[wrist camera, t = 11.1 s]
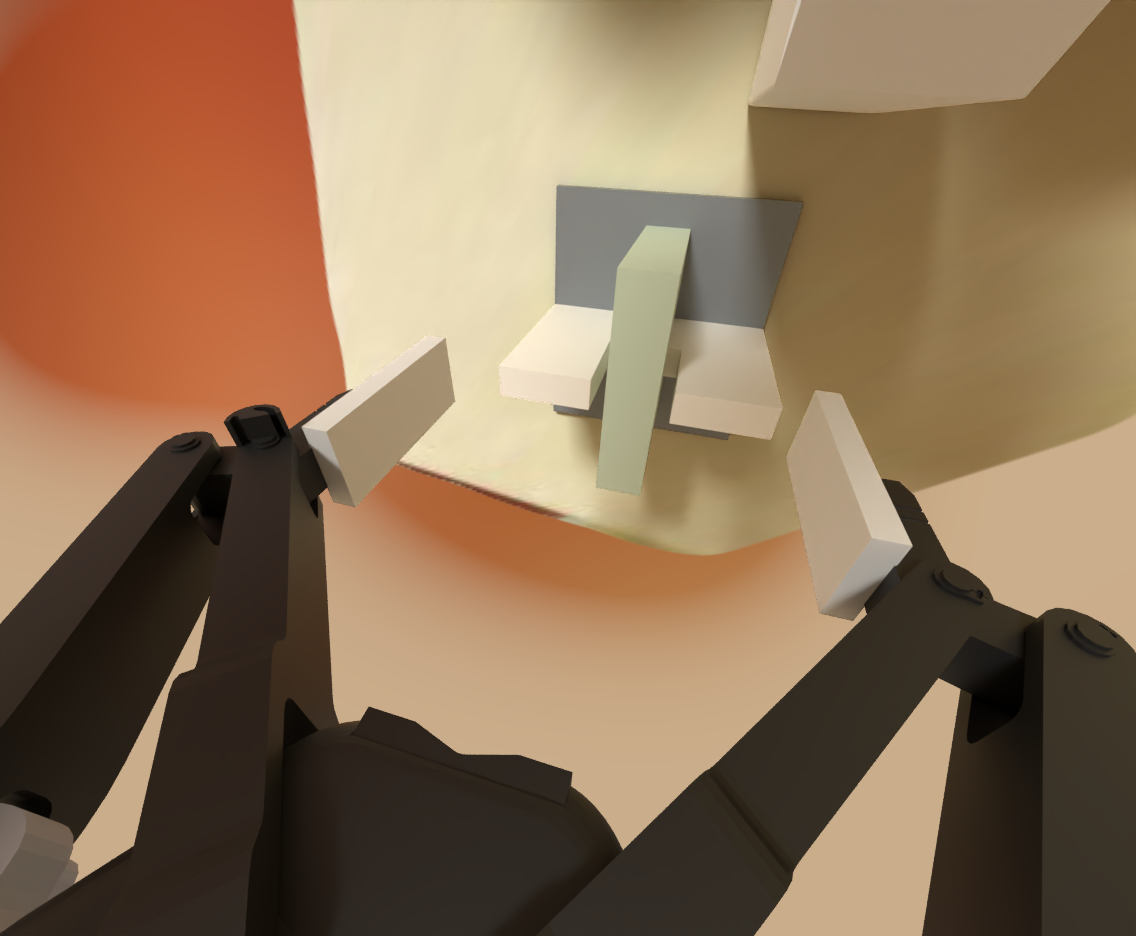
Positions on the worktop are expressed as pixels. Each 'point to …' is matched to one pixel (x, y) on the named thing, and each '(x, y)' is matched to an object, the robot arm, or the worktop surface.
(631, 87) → the worktop surface
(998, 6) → the milk carton
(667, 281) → the pale green tall block
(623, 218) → the notched wall on base
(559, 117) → the worktop surface
